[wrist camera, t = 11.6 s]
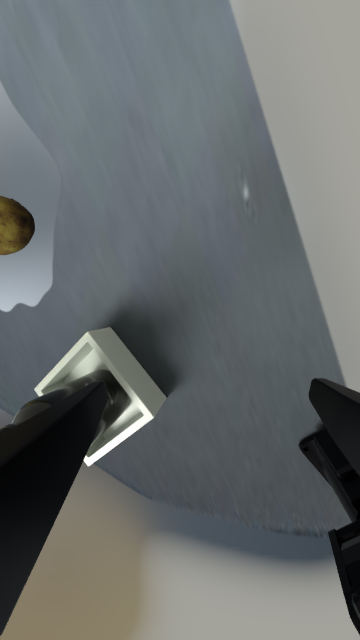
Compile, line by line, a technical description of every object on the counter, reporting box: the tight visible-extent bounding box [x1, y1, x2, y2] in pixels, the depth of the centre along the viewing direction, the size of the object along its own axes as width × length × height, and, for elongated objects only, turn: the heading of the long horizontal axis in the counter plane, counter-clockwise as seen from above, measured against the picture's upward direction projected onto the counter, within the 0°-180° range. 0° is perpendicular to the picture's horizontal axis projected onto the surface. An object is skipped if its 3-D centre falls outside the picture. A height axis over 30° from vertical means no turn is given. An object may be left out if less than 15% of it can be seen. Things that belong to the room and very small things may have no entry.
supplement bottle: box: [0, 369, 128, 445], centre depth 18 cm, size 7×7×12 cm
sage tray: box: [34, 327, 166, 466], centre depth 23 cm, size 12×12×4 cm
